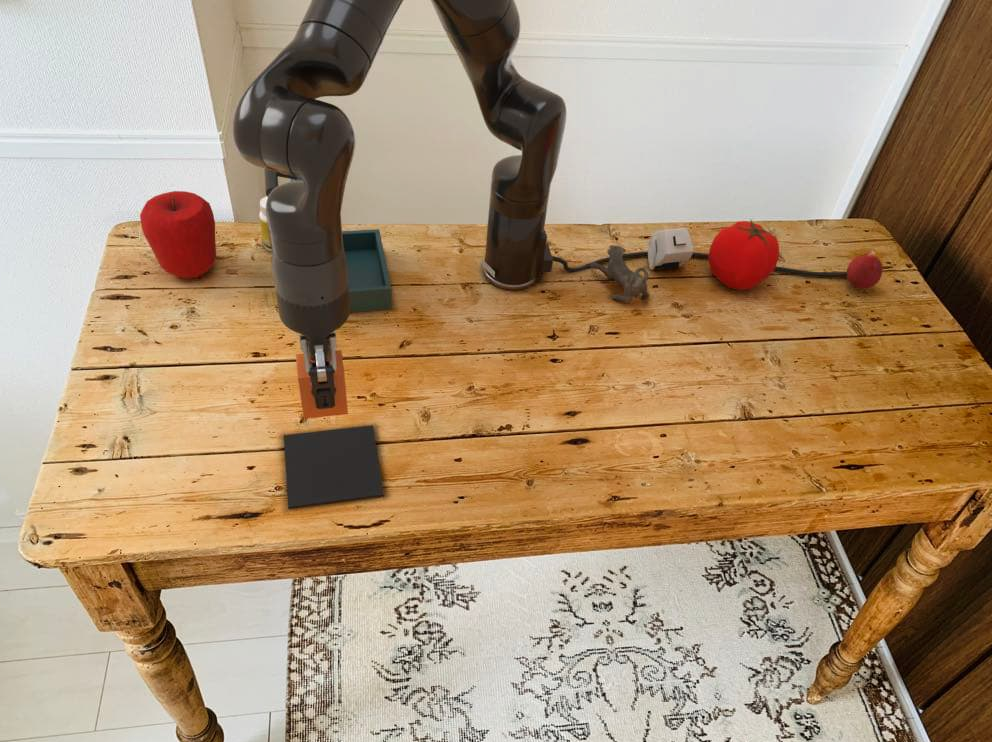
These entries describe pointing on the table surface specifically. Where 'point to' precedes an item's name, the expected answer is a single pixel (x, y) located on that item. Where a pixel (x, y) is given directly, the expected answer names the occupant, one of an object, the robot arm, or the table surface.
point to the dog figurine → (624, 275)
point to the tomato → (743, 255)
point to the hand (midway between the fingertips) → (324, 391)
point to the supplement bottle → (264, 224)
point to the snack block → (307, 396)
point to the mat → (331, 466)
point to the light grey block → (669, 248)
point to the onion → (864, 271)
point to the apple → (180, 232)
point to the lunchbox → (366, 271)
